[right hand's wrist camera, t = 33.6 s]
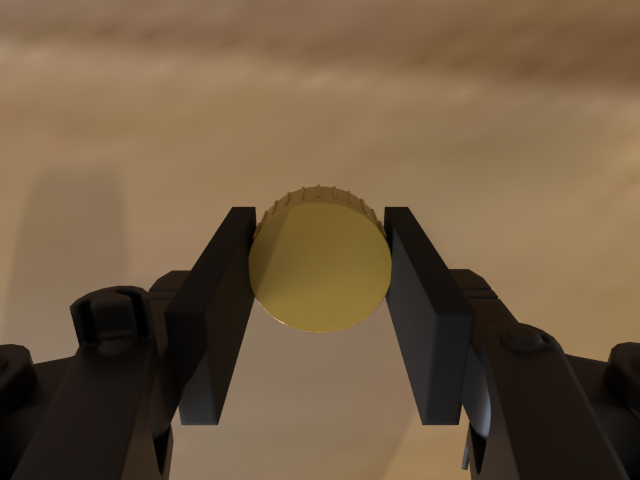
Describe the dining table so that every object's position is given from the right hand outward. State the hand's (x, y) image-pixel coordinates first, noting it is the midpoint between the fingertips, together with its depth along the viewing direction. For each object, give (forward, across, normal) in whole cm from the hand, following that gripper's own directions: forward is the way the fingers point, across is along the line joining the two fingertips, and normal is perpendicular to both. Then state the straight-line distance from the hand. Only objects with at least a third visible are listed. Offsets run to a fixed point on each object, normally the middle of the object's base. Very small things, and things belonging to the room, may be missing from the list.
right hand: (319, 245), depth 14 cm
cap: (-2, 0, 0) cm, 2 cm away
